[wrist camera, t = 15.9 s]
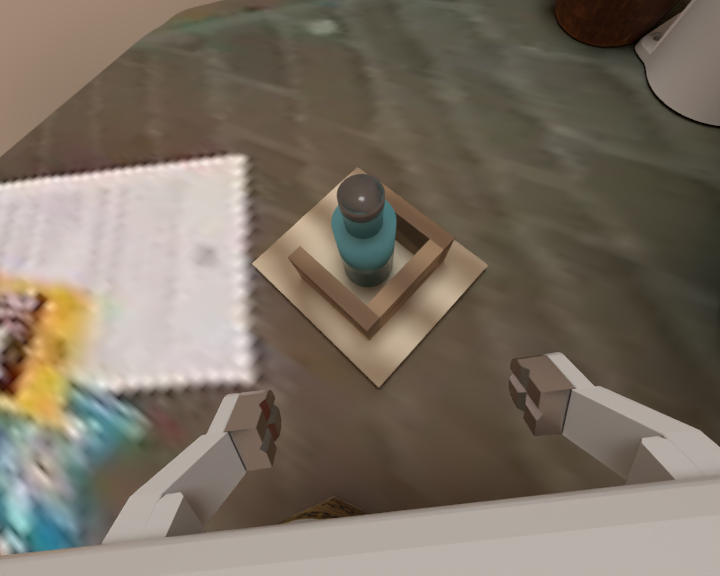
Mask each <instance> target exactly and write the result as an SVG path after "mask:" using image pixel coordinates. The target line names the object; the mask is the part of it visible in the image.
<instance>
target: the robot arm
mask: <svg viewBox="0 0 720 576" xmlns="http://www.w3.org/2000/svg"><path fill="white" fill-rule="evenodd" d="M635 50H636V53H637V54H638V56H639V57H640V58H641V60H642V61H643V62H644V64H645V67H646V74H647V79H648V82H649V84H650V86H651V88H652V89H653V91H654V92H655V94H656V95H657V96H658V97H659V98H660V99H661V100H662V101H663V102H664V103H665V104H666V105H668V106H669V107H670V108H672V109H673V110H675V111H677V112H678V113H680V114H682V115H684V116H686V117H688V118H691V119H693V120H696V121H699V122H702V123H706V124H711V125H716V126H720V0H692V1H691V2H690V3H689V4H688V6H686V7H685V8H684V9H683V11H682V12H680V13H679V14H677V15H676V16H674V17H673V18H671V19H670V20H668V21H667V22H665V23H664V24H662V25H660V26H659V27H657V28H656V29H654V30H653V31H651V32H650V33H648V34H647V35H645V36H644V37H643V38H642V39H641V40H640V41H639V42H638V43H637V44H636V46H635ZM510 369H511V370H512V372H513V373H514V374H513V375H512V376H511V377H510V378H509V390H510V395H511V397H512V400H513V402H514V404H515V405H516V407H517V408H519V409H520V410H522V411H524V420H525V422H526V423H527V425H528V427H529V428H530V430H531V431H532V433H533V435H534V436H539V435H550V434H561V433H563V434H562V435H563V436H565V437H566V438H568V439H569V440H570V441H572V442H573V443H575V444H576V445H577V446H579V447H580V448H582V449H583V450H584V451H586V452H587V453H589V454H590V455H591V456H593V457H594V458H596V459H597V460H598V461H600V462H601V463H602V464H604V465H605V466H607V467H608V468H609V469H611V470H612V471H614V472H615V473H616V474H618V475H619V476H621V477H622V478H623V479H625V480H626V483H625V485H623V486H614V487H605V488H596V489H588V490H579V491H570V492H561V493H552V494H543V495H535V496H526V497H517V498H508V499H500V500H491V501H482V502H474V503H465V504H456V505H447V506H439V507H430V508H421V509H412V510H403V511H394V512H385V513H376V514H367V515H358V516H349V517H340V518H331V519H323V520H314V521H305V522H296V523H287V524H278V525H269V526H261V527H252V528H243V529H234V530H225V531H216V532H206V530H205V529H204V527H205V526H206V524H207V523H208V522H209V520H210V519H211V518H212V516H213V515H214V514H215V513H216V511H217V510H218V509H219V507H220V506H221V505H222V504H223V502H224V501H225V500H226V498H227V497H228V496H229V494H230V493H231V492H232V491H233V489H234V488H235V487H236V485H237V484H238V483H239V481H240V480H241V479H242V478H243V476H244V475H245V474H246V471H250V470H257V469H263V468H270V467H272V465H273V461H274V457H275V453H276V449H277V448H276V445H275V443H274V442H275V441H276V439H277V438H278V437H279V436H280V431H281V415H280V411H279V408H278V407H277V406H275V405H274V400H275V397H274V394H273V392H272V391H271V390H264V391H254V392H245V393H238V394H228V395H227V396H225V397H224V399H223V401H222V403H221V405H220V407H219V409H218V411H217V413H216V415H215V417H214V420H213V422H212V424H211V426H210V428H209V430H208V432H207V434H206V435H202V436H200V437H199V438H198V439H197V440H196V441H195V442H193V443H192V444H191V445H190V446H189V447H188V448H186V449H185V450H184V451H183V452H182V453H181V454H179V455H178V456H177V457H176V458H175V459H174V460H172V461H171V462H170V463H169V464H168V465H167V466H165V467H164V468H163V469H162V470H161V471H160V472H158V473H157V474H156V475H155V476H154V477H152V478H151V479H150V480H149V481H148V482H147V483H145V484H144V485H143V486H142V487H141V488H140V489H138V490H137V491H136V492H135V493H134V494H133V495H131V496H130V498H129V499H128V501H127V503H126V504H125V506H124V507H123V509H122V511H121V512H120V514H119V516H118V517H117V519H116V521H115V522H114V524H113V526H112V527H111V529H110V531H109V532H108V534H107V535H106V537H105V539H104V540H103V542H102V544H101V545H92V546H83V547H75V548H66V549H57V550H48V551H39V552H31V553H22V554H13V555H4V556H0V576H720V447H719V446H718V445H716V444H715V443H714V442H713V441H712V440H711V439H709V438H708V437H707V436H706V435H705V434H704V433H702V432H701V431H700V430H698V429H696V428H694V427H691V426H689V425H687V424H685V423H682V422H680V421H678V420H675V419H673V418H671V417H669V416H666V415H664V414H662V413H660V412H657V411H655V410H653V409H651V408H648V407H646V406H644V405H642V404H639V403H637V402H635V401H632V400H630V399H628V398H626V397H623V396H621V395H619V394H617V393H614V392H612V391H610V390H608V389H605V388H603V387H601V386H596V387H595V386H594V385H593V384H592V383H591V382H590V381H589V380H588V379H587V378H586V377H585V376H584V375H583V374H582V373H581V372H580V371H579V370H578V369H577V368H576V367H575V366H574V365H573V364H572V363H571V362H570V361H569V360H568V359H567V358H566V357H565V356H564V355H563V354H562V353H560V352H556V353H550V354H543V355H537V356H530V357H522V358H515V359H512V361H511V365H510Z"/></svg>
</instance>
